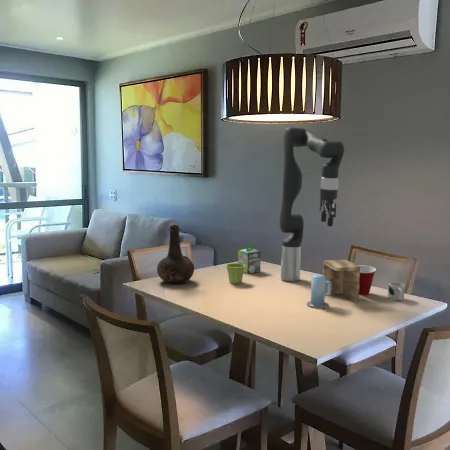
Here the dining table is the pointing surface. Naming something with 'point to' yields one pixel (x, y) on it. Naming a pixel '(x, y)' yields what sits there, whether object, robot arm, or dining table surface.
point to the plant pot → (235, 272)
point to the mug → (396, 291)
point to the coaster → (318, 306)
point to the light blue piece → (319, 289)
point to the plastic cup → (366, 279)
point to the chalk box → (250, 259)
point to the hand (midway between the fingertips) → (326, 223)
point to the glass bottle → (175, 261)
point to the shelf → (342, 278)
